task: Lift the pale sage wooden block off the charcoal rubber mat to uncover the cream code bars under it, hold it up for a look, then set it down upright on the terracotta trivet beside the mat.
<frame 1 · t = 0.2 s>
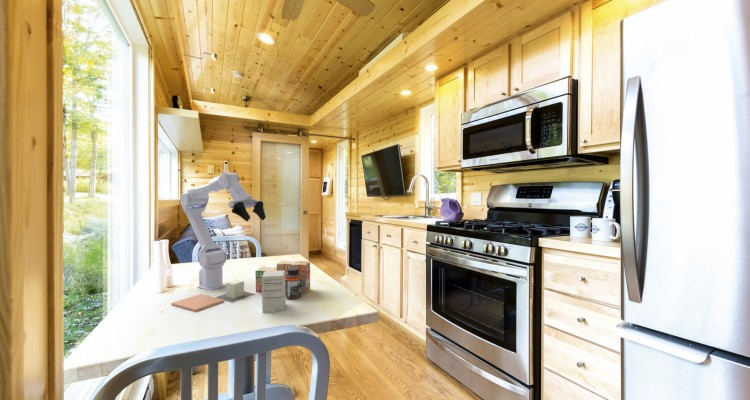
hand: (256, 219, 121), 31 cm above the table, tool tilted 45°, fingers open, 7 cm apart
code mat: (235, 296, 123), on the table
terracotta trivet: (198, 304, 115), on the table
supplement box: (274, 308, 111), on the table
supplement bottle: (293, 297, 123), on the table
sage block: (235, 295, 123), resting on code mat
stack of blocks: (283, 291, 130), on the table
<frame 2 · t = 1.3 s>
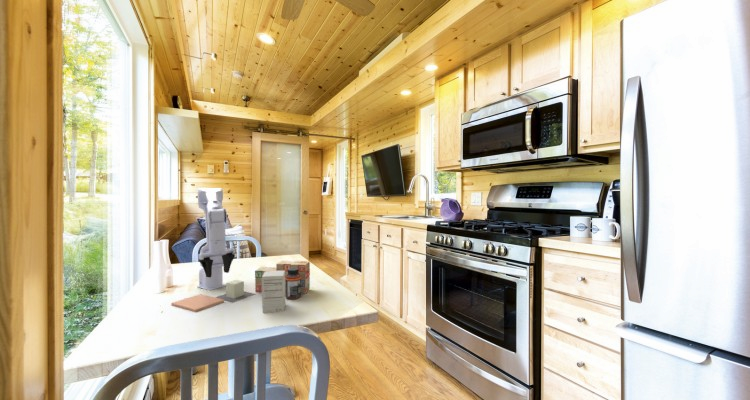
hand: (217, 274, 122), 9 cm above the table, tool pointing down, fingers open, 7 cm apart
nothing on the table moved.
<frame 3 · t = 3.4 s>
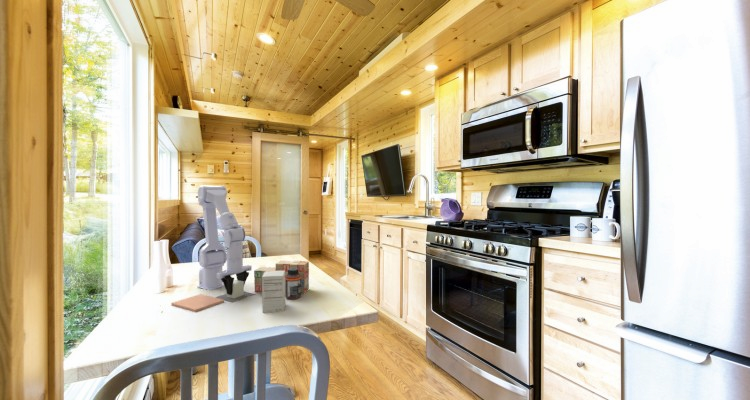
hand: (235, 292, 123), 2 cm above the table, tool pointing down, fingers closed on sage block, 4 cm apart
sage block: (235, 295, 123), resting on code mat, touching gripper
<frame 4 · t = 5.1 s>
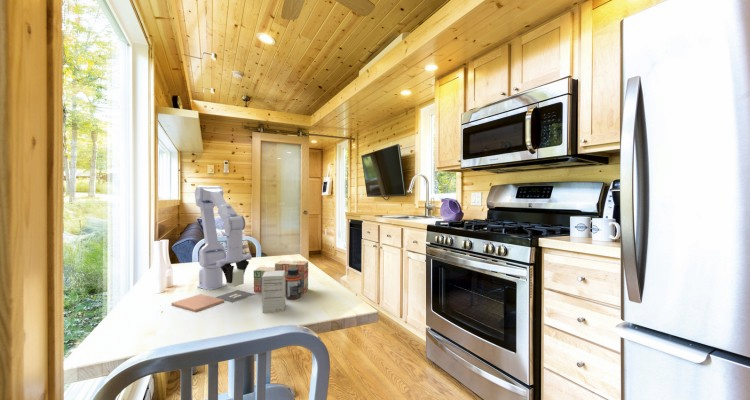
hand: (235, 280, 123), 6 cm above the table, tool pointing down, fingers closed on sage block, 4 cm apart
sage block: (235, 284, 123), point 5 cm above the table, touching gripper
everything else where it was.
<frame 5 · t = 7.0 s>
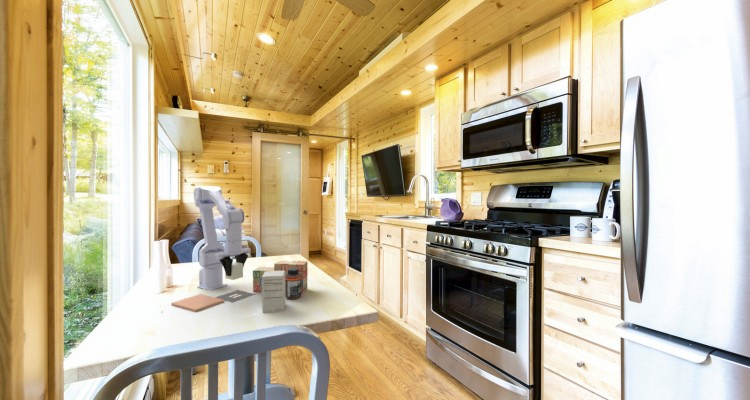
hand: (234, 274, 123), 9 cm above the table, tool pointing down, fingers closed on sage block, 4 cm apart
sage block: (234, 277, 123), point 8 cm above the table, touching gripper
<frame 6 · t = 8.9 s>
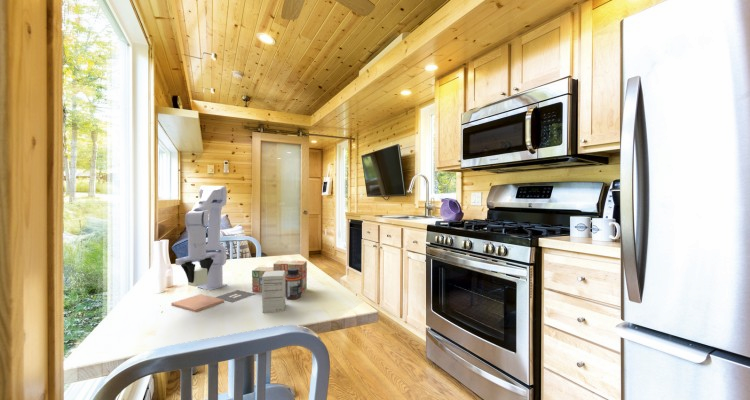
hand: (197, 280, 115), 9 cm above the table, tool pointing down, fingers closed on sage block, 4 cm apart
sage block: (197, 284, 115), point 7 cm above the table, touching gripper
when the fingers open (3 cm above the table, at t = 10.5 s): sage block stays where it is, resting on terracotta trivet.
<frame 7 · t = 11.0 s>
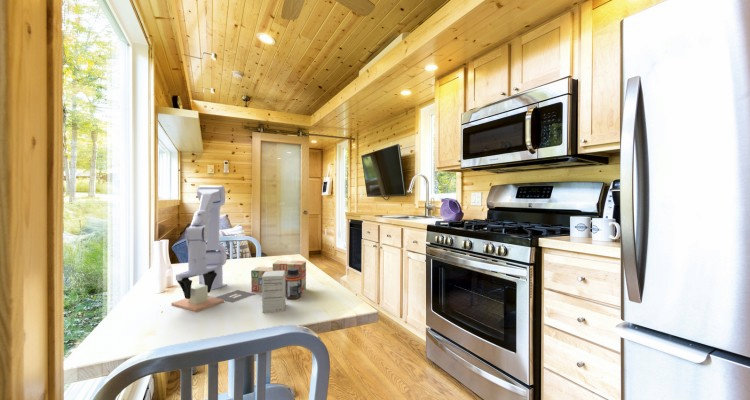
hand: (197, 295, 115), 3 cm above the table, tool pointing down, fingers open, 7 cm apart
sage block: (198, 301, 115), point 1 cm above the table, touching terracotta trivet
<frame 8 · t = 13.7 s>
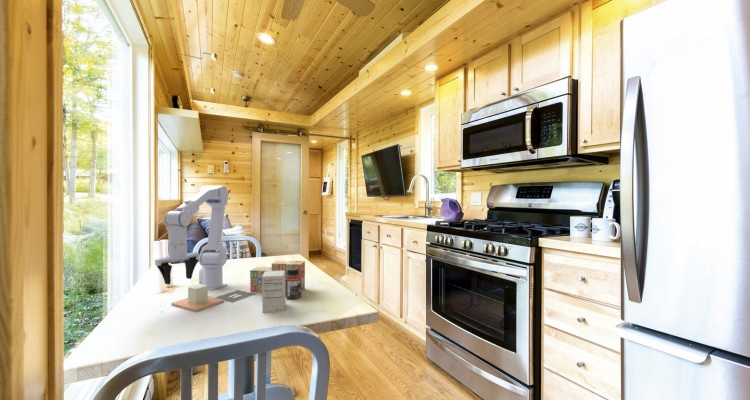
hand: (178, 281, 114), 9 cm above the table, tool pointing down, fingers open, 7 cm apart
at the end: sage block 0.0 cm off-centre on the terracotta trivet, point 1.0 cm above the terracotta trivet's base; sage block tilted 0°; the gripper is holding nothing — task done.
